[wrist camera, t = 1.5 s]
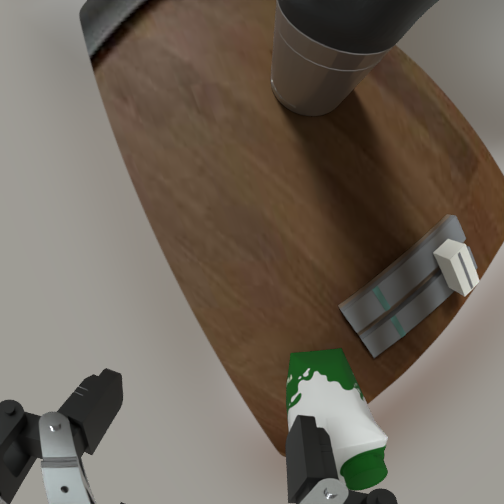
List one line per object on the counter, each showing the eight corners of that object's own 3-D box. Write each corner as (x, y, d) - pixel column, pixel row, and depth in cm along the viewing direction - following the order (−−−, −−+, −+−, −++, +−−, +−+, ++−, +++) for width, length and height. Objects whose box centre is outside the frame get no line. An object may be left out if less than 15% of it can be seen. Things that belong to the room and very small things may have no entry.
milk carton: (343, 390, 39) (380, 494, 19) (283, 396, 39) (293, 509, 19) (348, 341, 37) (403, 447, 17) (282, 347, 37) (296, 467, 18)
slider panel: (447, 214, 33) (456, 215, 31) (468, 264, 34) (477, 267, 32) (337, 305, 36) (342, 312, 34) (369, 350, 37) (374, 358, 35)
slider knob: (442, 237, 32) (466, 244, 27) (458, 271, 33) (480, 281, 28) (428, 250, 33) (450, 259, 27) (444, 284, 33) (465, 296, 28)
